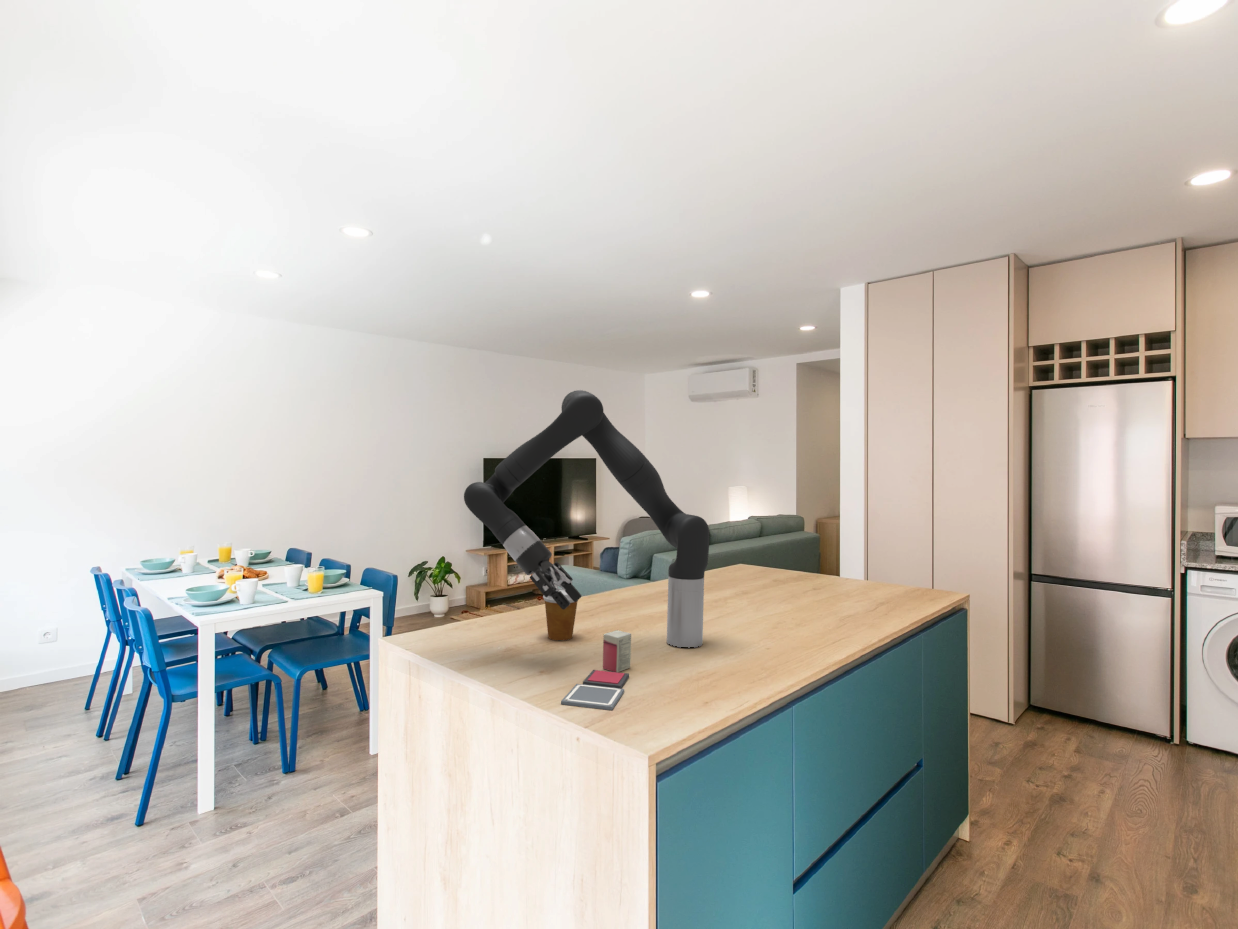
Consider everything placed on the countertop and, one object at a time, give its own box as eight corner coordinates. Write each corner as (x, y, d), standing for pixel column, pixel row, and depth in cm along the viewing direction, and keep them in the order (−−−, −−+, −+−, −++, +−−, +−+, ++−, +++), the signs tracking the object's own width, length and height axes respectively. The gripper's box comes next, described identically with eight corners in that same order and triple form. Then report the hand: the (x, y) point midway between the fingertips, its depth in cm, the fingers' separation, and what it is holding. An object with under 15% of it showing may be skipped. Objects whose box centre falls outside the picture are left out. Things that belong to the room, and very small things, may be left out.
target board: (576, 686, 131) (576, 683, 131) (624, 692, 128) (624, 688, 128) (560, 704, 121) (561, 700, 121) (612, 710, 119) (612, 706, 119)
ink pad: (593, 673, 139) (593, 668, 139) (629, 677, 137) (629, 672, 137) (582, 685, 131) (582, 680, 131) (620, 689, 129) (620, 684, 129)
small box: (616, 663, 146) (617, 629, 146) (630, 668, 144) (631, 633, 144) (601, 669, 142) (602, 633, 142) (616, 673, 140) (617, 637, 140)
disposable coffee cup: (581, 633, 171) (582, 589, 171) (575, 643, 162) (576, 596, 162) (546, 631, 172) (547, 587, 172) (538, 641, 163) (539, 594, 163)
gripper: (526, 542, 141) (575, 598, 138) (548, 536, 155) (593, 586, 152) (503, 565, 142) (551, 621, 139) (527, 556, 156) (571, 607, 153)
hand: (573, 603), depth 146 cm, fingers open, 8 cm apart
